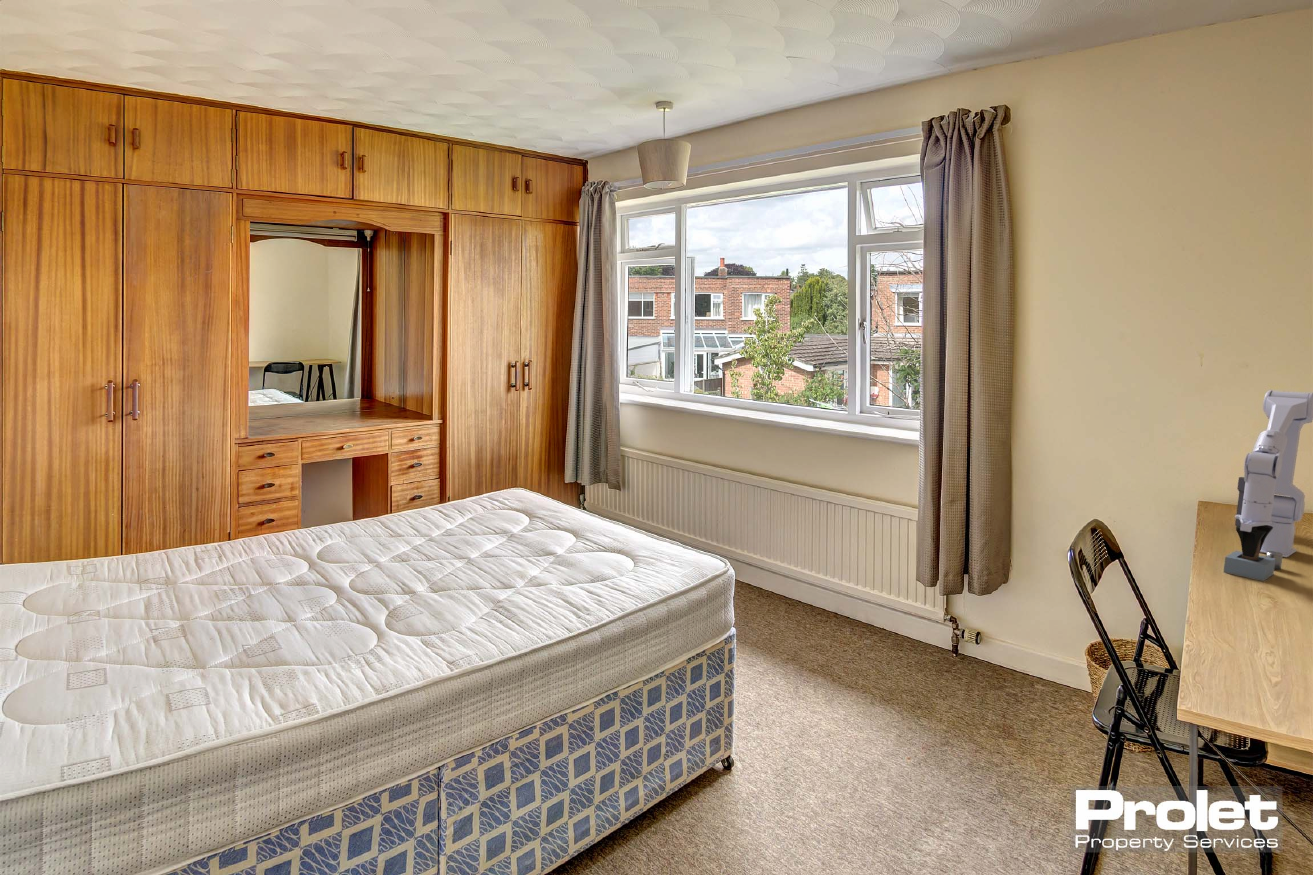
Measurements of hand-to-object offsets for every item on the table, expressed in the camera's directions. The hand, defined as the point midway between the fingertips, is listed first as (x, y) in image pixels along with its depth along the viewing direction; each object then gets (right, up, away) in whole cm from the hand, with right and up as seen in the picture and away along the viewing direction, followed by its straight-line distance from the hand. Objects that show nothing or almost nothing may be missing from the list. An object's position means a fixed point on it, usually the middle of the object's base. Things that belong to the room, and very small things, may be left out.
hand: (1250, 554), depth 185 cm
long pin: (0, -2, 0) cm, 2 cm away
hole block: (0, -5, +1) cm, 5 cm away
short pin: (+9, -4, +5) cm, 11 cm away
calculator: (+30, +1, +37) cm, 48 cm away
